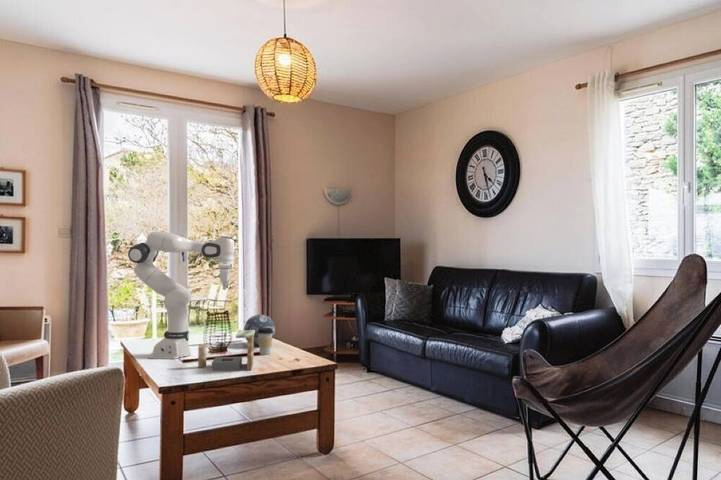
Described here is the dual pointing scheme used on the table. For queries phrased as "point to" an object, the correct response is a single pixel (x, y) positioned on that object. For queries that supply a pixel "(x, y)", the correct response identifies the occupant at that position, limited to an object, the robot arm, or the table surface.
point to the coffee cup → (265, 340)
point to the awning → (250, 349)
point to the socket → (227, 363)
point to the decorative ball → (259, 325)
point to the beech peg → (202, 356)
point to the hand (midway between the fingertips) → (225, 288)
